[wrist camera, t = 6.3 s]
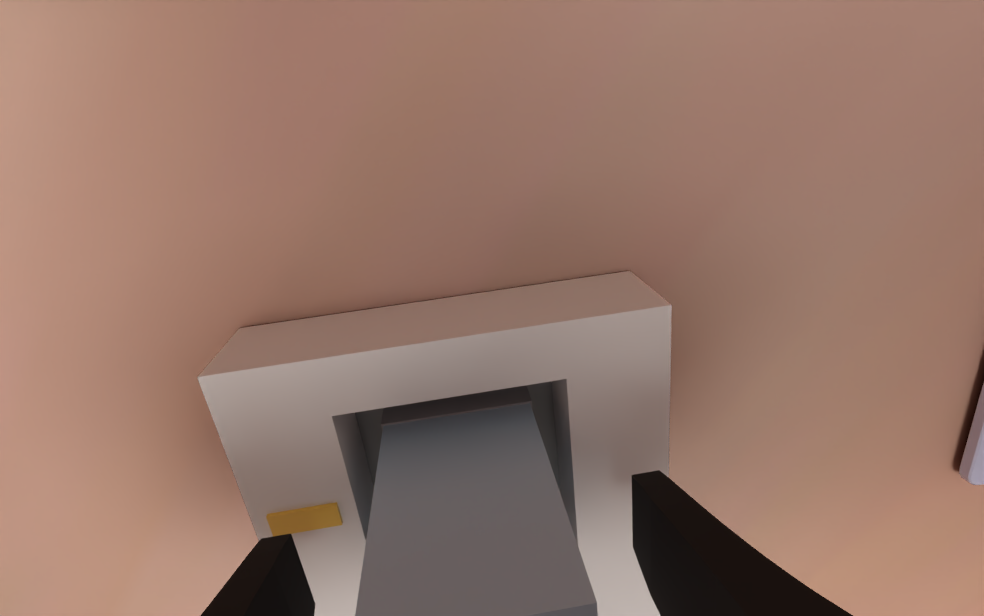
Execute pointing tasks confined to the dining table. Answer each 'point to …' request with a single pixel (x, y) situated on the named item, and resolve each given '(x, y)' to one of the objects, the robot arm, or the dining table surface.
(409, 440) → the plug
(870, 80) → the dining table surface
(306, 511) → the panel
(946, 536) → the dining table surface
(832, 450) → the dining table surface
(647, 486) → the robot arm
